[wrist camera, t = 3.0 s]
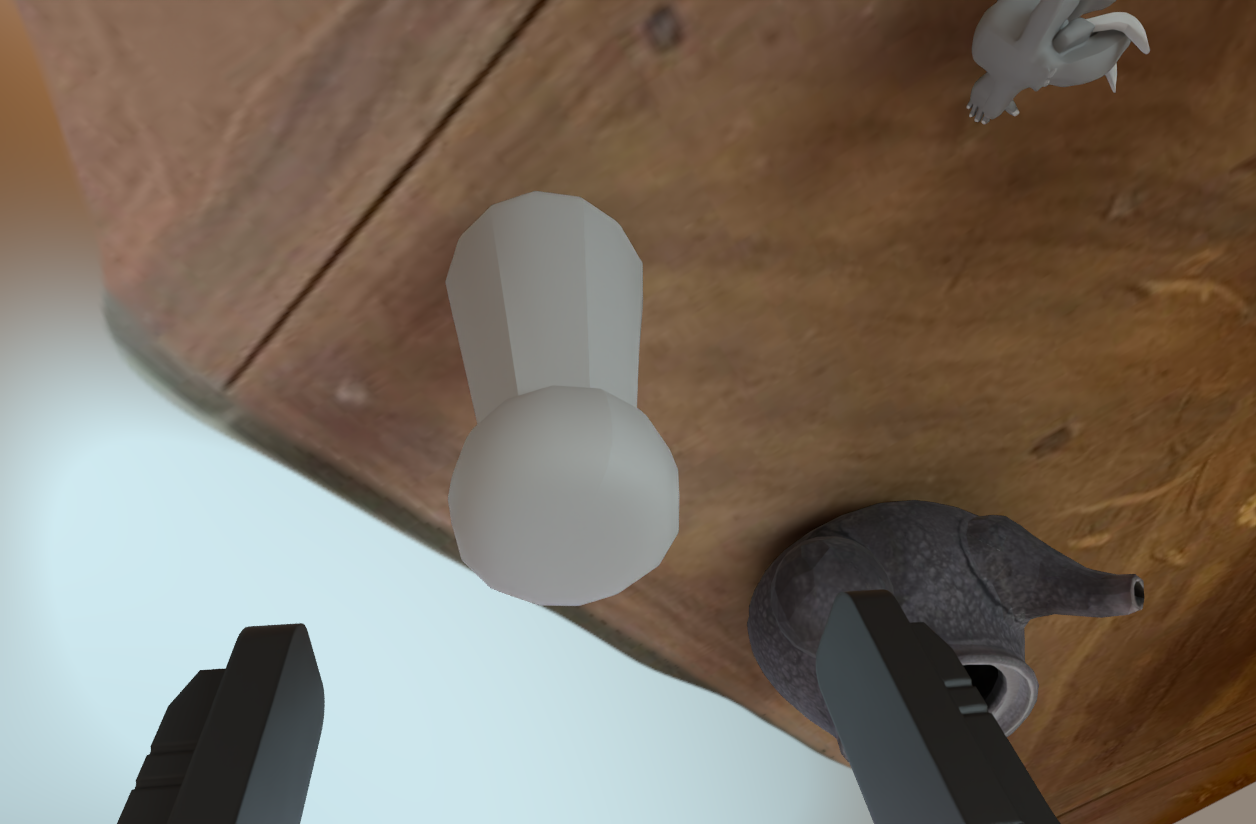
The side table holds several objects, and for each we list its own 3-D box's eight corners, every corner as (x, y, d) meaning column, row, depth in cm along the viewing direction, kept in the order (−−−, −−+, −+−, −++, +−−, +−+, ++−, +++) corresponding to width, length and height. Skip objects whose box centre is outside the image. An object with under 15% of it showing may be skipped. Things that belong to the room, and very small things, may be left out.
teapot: (1085, 523, 34) (1263, 710, 26) (834, 685, 39) (919, 884, 31) (874, 291, 25) (1046, 467, 17) (585, 541, 30) (612, 768, 22)
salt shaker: (661, 287, 24) (780, 576, 13) (519, 366, 25) (525, 692, 14) (573, 131, 21) (639, 351, 10) (414, 229, 22) (322, 521, 11)
